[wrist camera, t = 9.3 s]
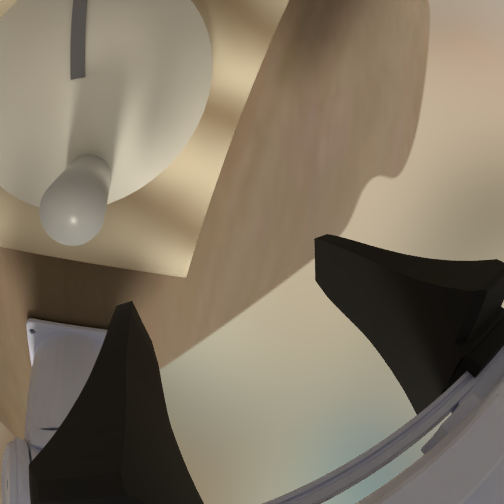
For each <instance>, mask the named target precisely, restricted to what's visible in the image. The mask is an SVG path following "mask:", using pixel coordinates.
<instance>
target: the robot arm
mask: <svg viewBox="0 0 504 504" xmlns="http://www.w3.org/2000/svg"><path fill="white" fill-rule="evenodd" d="M314 240H315V280H316V282H317V283H318V285H319V286H320V287H321V289H322V290H323V292H324V293H325V294H326V295H327V297H328V298H329V299H330V300H331V301H332V302H333V303H334V304H335V305H336V306H337V307H338V308H339V309H340V310H341V312H343V313H344V314H345V315H346V316H347V317H348V318H349V319H350V320H351V322H352V323H354V324H355V325H356V326H357V327H358V328H359V330H360V331H362V333H363V334H364V335H365V336H366V337H367V338H368V339H369V340H370V342H371V343H372V344H373V346H374V347H375V348H376V350H377V351H378V352H379V353H380V355H381V356H382V358H383V359H384V360H385V362H386V363H387V365H388V366H389V367H390V369H391V370H392V372H393V374H394V375H395V377H396V378H397V380H398V381H399V383H400V385H401V386H402V388H403V389H404V391H405V393H406V395H407V397H408V399H409V400H410V402H411V404H412V406H413V408H414V410H415V412H416V414H417V416H415V417H414V418H413V419H412V420H410V421H409V422H408V423H406V424H405V425H404V426H402V427H401V428H400V429H398V430H397V431H395V432H394V433H393V434H391V435H390V436H388V437H387V438H386V439H384V440H383V441H381V442H380V443H379V444H377V445H375V446H374V447H372V448H371V449H369V450H368V451H366V452H365V453H363V454H361V455H360V456H358V457H356V458H355V459H353V460H351V461H350V462H348V463H346V464H345V465H343V466H341V467H339V468H337V469H336V470H334V471H332V472H330V473H328V474H326V475H325V476H323V477H321V478H319V479H317V480H315V481H313V482H311V483H309V484H307V485H305V486H303V487H300V488H298V489H296V490H294V491H292V492H289V493H287V494H285V495H283V496H280V497H278V498H275V499H273V500H271V501H268V502H266V503H263V504H321V503H323V502H325V501H327V500H329V499H331V498H332V497H334V496H336V495H338V494H340V493H341V492H343V491H345V490H347V489H349V488H350V487H352V486H354V485H355V484H357V483H359V482H360V481H362V480H364V479H365V478H367V477H368V476H370V475H371V474H373V473H375V472H376V471H377V470H379V469H381V468H382V467H383V466H385V465H386V464H388V463H389V462H391V461H392V460H393V459H395V458H396V457H398V456H399V455H400V454H402V453H403V452H404V451H406V450H407V449H408V448H409V447H411V446H412V445H413V444H415V443H416V442H417V441H418V440H420V439H421V438H422V437H423V436H425V435H426V434H427V433H428V432H429V431H431V430H432V429H433V428H434V427H435V426H436V425H437V424H439V423H440V422H441V421H442V420H443V419H444V418H445V417H446V416H447V415H449V414H450V412H452V414H451V416H450V417H449V418H448V419H447V420H446V421H445V422H444V423H443V424H442V425H441V426H440V428H439V429H438V431H437V432H436V433H435V434H434V435H433V437H432V438H431V439H430V440H429V441H428V442H427V443H426V444H425V445H424V446H423V447H422V449H421V451H422V452H423V453H424V455H423V456H422V457H421V458H420V459H418V460H417V461H416V462H415V463H413V464H412V465H411V466H410V467H408V468H407V469H406V470H404V471H403V472H402V473H400V474H399V475H398V476H396V477H395V478H394V479H392V480H391V481H389V482H388V483H386V484H385V485H384V486H382V487H381V488H379V489H378V490H376V491H375V492H373V493H372V494H370V495H369V496H367V497H366V498H364V499H363V500H361V501H359V502H358V503H356V504H504V308H502V307H501V305H502V302H503V300H504V263H503V262H502V261H499V260H497V259H495V260H482V261H449V260H438V259H428V258H422V257H417V256H411V255H406V254H401V253H396V252H393V251H389V250H385V249H381V248H377V247H374V246H370V245H367V244H363V243H360V242H356V241H353V240H349V239H346V238H342V237H338V236H334V235H329V234H326V235H323V236H321V237H318V238H315V239H314ZM26 328H27V337H28V345H29V352H30V359H31V365H32V371H31V377H30V384H29V392H28V400H27V410H26V422H25V439H24V440H23V439H21V438H18V437H16V438H15V439H14V440H13V441H10V442H9V443H7V445H6V448H5V452H4V459H3V467H2V504H204V503H203V501H202V499H201V497H200V495H199V493H198V491H197V489H196V487H195V485H194V483H193V481H192V478H191V476H190V474H189V472H188V470H187V467H186V465H185V462H184V460H183V457H182V455H181V452H180V450H179V447H178V445H177V442H176V439H175V437H174V433H173V431H172V428H171V425H170V421H169V417H168V413H167V408H166V403H165V399H164V393H163V388H162V383H161V377H160V371H159V366H158V362H157V358H156V355H155V351H154V348H153V344H152V341H151V339H150V337H149V335H148V333H147V331H146V329H145V327H144V325H143V323H142V321H141V319H140V317H139V314H138V312H137V310H136V308H135V306H134V304H133V302H132V301H130V302H127V303H124V304H121V305H118V306H116V309H115V311H114V314H113V317H112V319H111V322H110V325H109V328H108V330H106V329H98V328H90V327H83V326H76V325H69V324H63V323H56V322H50V321H44V320H39V319H33V318H30V319H28V320H27V323H26ZM31 329H33V330H35V331H32V330H31Z"/></svg>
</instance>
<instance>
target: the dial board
mask: <svg viewBox="0 0 504 504" xmlns="http://www.w3.org/2000/svg"><path fill="white" fill-rule="evenodd" d="M17 1H18V0H0V19H1V17H2V16H3V15H4V14H5V13H6V12H7V11H8V10H9V8H10V7H12V6H13V5H14V4H15V3H16V2H17ZM191 1H192V2H193V4H194V5H195V6H196V8H197V10H198V11H199V13H200V15H201V17H202V18H203V21H204V23H205V26H206V28H207V31H208V34H209V38H210V43H211V47H212V58H213V70H212V82H211V87H210V93H209V97H208V100H207V103H206V106H205V110H204V112H203V115H202V117H201V119H200V121H199V124H198V126H197V128H196V129H195V131H194V133H193V134H192V136H191V138H190V140H189V141H188V143H187V144H186V145H185V147H184V148H183V149H182V151H181V152H180V153H179V155H178V156H177V157H176V158H175V159H174V160H173V161H172V162H171V163H170V165H169V166H168V167H167V168H166V169H165V170H163V171H162V172H161V173H160V174H159V175H158V176H157V177H155V178H154V179H153V180H152V181H150V182H149V183H147V184H146V185H145V186H143V187H142V188H140V189H139V190H137V191H135V192H133V193H131V194H130V195H128V196H126V197H124V198H122V199H119V200H117V201H114V202H112V203H110V204H107V206H106V212H105V218H104V222H103V225H102V227H101V229H100V231H99V232H98V234H97V235H96V236H95V237H94V238H93V239H91V240H90V241H88V242H87V243H84V244H81V245H77V246H68V245H63V244H61V243H58V242H57V241H55V240H54V239H52V238H51V237H50V236H49V235H48V234H47V233H46V231H45V230H44V228H43V226H42V223H41V220H40V214H39V208H40V207H37V206H33V205H31V204H29V203H26V202H24V201H21V200H19V199H18V198H16V197H14V196H13V195H11V194H9V193H8V192H7V191H5V190H4V189H3V188H2V187H1V186H0V247H4V248H9V249H14V250H19V251H24V252H29V253H35V254H40V255H46V256H51V257H57V258H63V259H68V260H74V261H80V262H86V263H92V264H98V265H104V266H111V267H117V268H123V269H130V270H137V271H143V272H150V273H157V274H164V275H171V276H178V277H185V278H186V276H187V273H188V269H189V266H190V263H191V259H192V256H193V253H194V250H195V246H196V243H197V240H198V237H199V234H200V231H201V227H202V224H203V221H204V218H205V215H206V212H207V209H208V206H209V203H210V200H211V197H212V194H213V191H214V188H215V185H216V182H217V179H218V177H219V174H220V171H221V168H222V165H223V162H224V160H225V157H226V154H227V151H228V148H229V146H230V143H231V140H232V137H233V135H234V132H235V129H236V127H237V124H238V121H239V119H240V116H241V114H242V111H243V108H244V106H245V103H246V101H247V98H248V96H249V93H250V90H251V88H252V85H253V83H254V81H255V78H256V76H257V73H258V71H259V68H260V66H261V63H262V61H263V59H264V56H265V54H266V52H267V49H268V47H269V45H270V42H271V40H272V38H273V35H274V33H275V31H276V28H277V26H278V24H279V22H280V20H281V17H282V15H283V13H284V11H285V9H286V6H287V4H288V2H289V0H191Z"/></svg>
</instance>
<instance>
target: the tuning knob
mask: <svg viewBox="0 0 504 504" xmlns="http://www.w3.org/2000/svg"><path fill="white" fill-rule="evenodd" d="M212 70H213V58H212V47H211V43H210V38H209V34H208V31H207V28H206V26H205V23H204V21H203V18H202V17H201V15H200V13H199V11H198V10H197V8H196V6H195V5H194V4H193V2H192V1H191V0H18V1H17V2H16V3H15V4H14V5H13V6H12V7H10V8H9V10H8V11H7V12H6V13H5V14H4V15H3V16H2V17H1V19H0V186H1V187H2V188H3V189H4V190H5V191H7V192H8V193H9V194H11V195H13V196H14V197H16V198H18V199H19V200H21V201H24V202H26V203H29V204H31V205H33V206H37V207H40V208H39V214H40V220H41V223H42V226H43V228H44V230H45V231H46V233H47V234H48V235H49V236H50V237H51V238H52V239H54V240H55V241H57V242H58V243H61V244H63V245H68V246H77V245H81V244H84V243H87V242H88V241H90V240H91V239H93V238H94V237H95V236H96V235H97V234H98V232H99V231H100V229H101V227H102V225H103V222H104V218H105V212H106V206H107V204H110V203H112V202H114V201H117V200H119V199H122V198H124V197H126V196H128V195H130V194H131V193H133V192H135V191H137V190H139V189H140V188H142V187H143V186H145V185H146V184H147V183H149V182H150V181H152V180H153V179H154V178H155V177H157V176H158V175H159V174H160V173H161V172H162V171H163V170H165V169H166V168H167V167H168V166H169V165H170V163H171V162H172V161H173V160H174V159H175V158H176V157H177V156H178V155H179V153H180V152H181V151H182V149H183V148H184V147H185V145H186V144H187V143H188V141H189V140H190V138H191V136H192V134H193V133H194V131H195V129H196V128H197V126H198V124H199V121H200V119H201V117H202V115H203V112H204V110H205V106H206V103H207V100H208V97H209V93H210V87H211V82H212Z"/></svg>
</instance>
